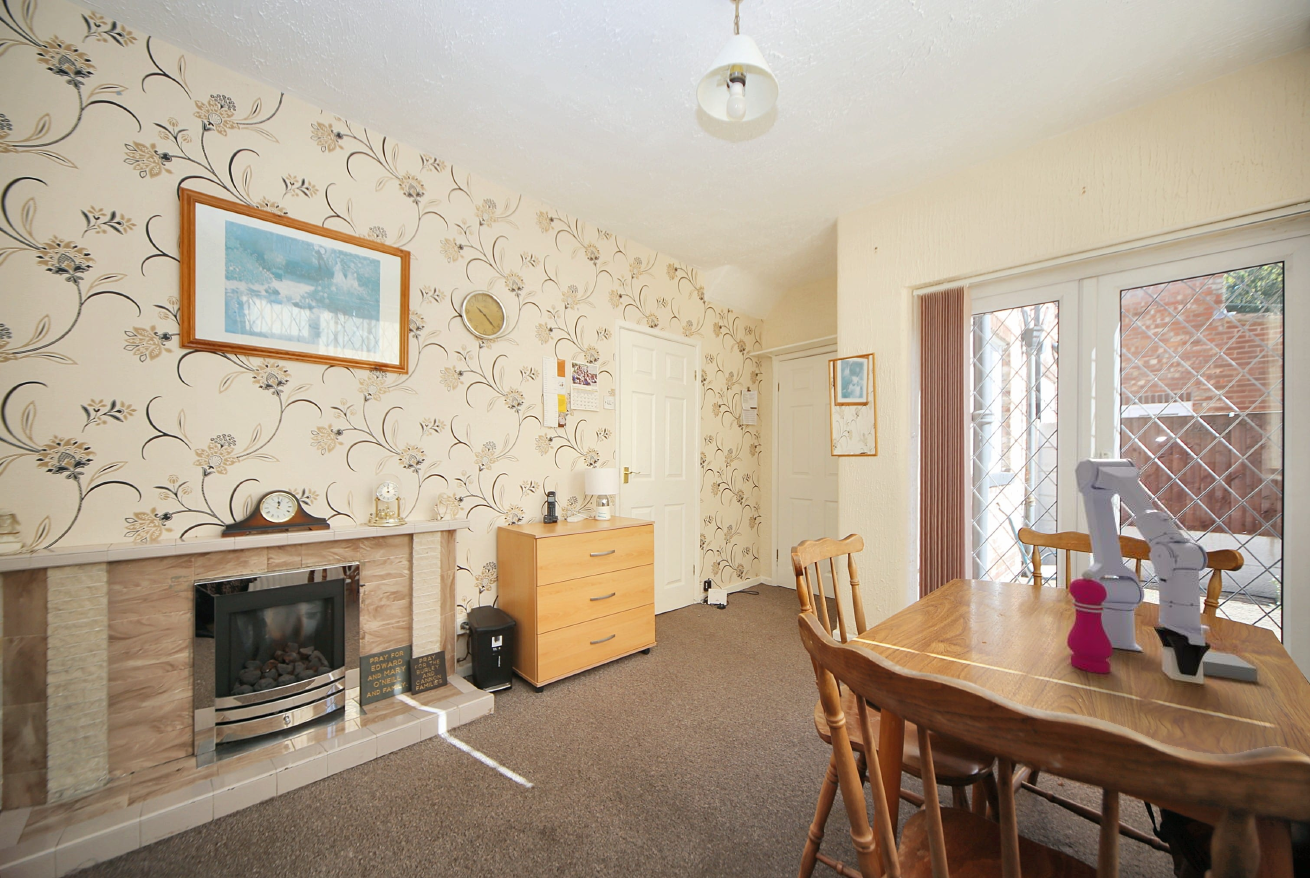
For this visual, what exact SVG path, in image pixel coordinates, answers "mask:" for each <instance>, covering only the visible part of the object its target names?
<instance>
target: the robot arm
mask: <svg viewBox="0 0 1310 878" xmlns="http://www.w3.org/2000/svg"><path fill="white" fill-rule="evenodd" d="M1074 473H1075V479H1076V484H1077V490H1078V492H1079V494H1081V495H1082V496H1081V497H1082V501H1083V508H1084V513H1085V518H1086V524H1087V529H1088V535H1089V541H1090V546H1091V552H1092V557H1093V564H1091V565H1090V566H1089V567H1087V568H1086V569H1084V570H1083V571H1082V573H1083V572H1090V573H1091V574H1092V575H1093V578H1092V579H1091V580H1095V581H1097V582H1099V583H1100V584H1102V585H1103V586H1104V587H1105V589H1106V593H1107V597H1106V599H1105V600H1104V601H1103V602H1102V603H1101V604H1103V605H1104V607H1103V609H1104V612H1102V614H1101V620H1102V625H1103V628H1104V631H1105V633H1106V635H1107V636H1108V638H1109V640H1110V642H1111V645H1112V649H1113V648H1115V649H1121V650H1129V651H1134V652H1135V651H1137V652H1143V651H1144V650H1143V648H1142V647H1140V646H1139V645H1138V644H1137V643H1136V633H1135V632H1136V631H1135V629H1136V627H1135V610H1138V607H1139V606H1140V605H1141V604H1142V603H1144V599H1145V590H1144V588H1143V585H1141V583H1140V579H1139V577H1138V573H1137V572H1136V571H1134V570H1133V569H1131V568H1129V567H1128V566H1126V565H1125V564H1124V559H1123V554H1122V550H1121V549H1122V548H1121V543H1120V539H1119V535H1118V534H1119V533H1118V529H1117V522H1116V518H1115V513H1114V508H1113V502H1112V499H1113V498H1114V496H1115V495H1118V496H1119V497H1120V499H1121V500H1122V501H1123V502H1124V503H1125V505H1126V506H1127V507H1128V508H1129V510H1131V512H1132V513H1133V514H1134V516H1135V518H1134V520H1133V524H1134V526H1135V527H1136V529H1137V530H1138V532H1139V533H1140V535H1141V536H1142V537H1143V539H1144V540H1145V542H1146V543H1147V545H1148V546H1149V548H1150V552H1148V556H1149V557H1148V558H1149V560H1150V562H1151V564H1152V565H1153V568H1154V574H1155V577H1157V578H1158V579H1157V580H1158V598H1159V599H1158V600H1159V602H1158V604H1159V612H1158V625H1159V626H1153V630H1154V631H1155V633H1156V634H1157V636H1158V637H1159V641H1160V643H1161V644H1162V646H1163V647H1171V648H1173V649H1174V652H1175V655H1176V660H1177V665H1178V669H1179V671H1180V673H1181V674H1184V675H1190V676H1196V675H1197V672H1198V669H1199V665H1200V662H1201V660H1202V658H1203V656H1204V654H1205V653H1206V652H1207V651H1210V649H1211V644H1210V643H1208V642H1207V641H1206V635H1204V633H1203V632H1211V630H1210V629H1211V628H1210V627H1208V625H1204V624H1202V618H1201V617H1202V616H1201V615H1202V614H1201V613H1202V612H1201V594H1200V593H1201V591H1200V572H1201V571H1204V570H1205V569H1206V568H1207V566H1208V563H1209V562H1208V560H1209V559H1208V555H1207V552H1206V551H1205V550H1204V547H1203V546H1202V545H1201V544H1200V543H1198V542H1195V541H1193V540H1191V538H1187V537H1185V536H1184V535H1183V533H1182V532H1181V531H1180V530H1179V528H1178V526H1177V525H1176V524H1175V523H1174V522H1173V521H1172V519H1171V518H1170V516H1169V515H1168V514H1167V513H1166V512H1163V511H1160V510H1157V509H1156V508H1155V506H1154V505H1153V503H1152V501H1151V500H1150V498H1149V497H1148V495H1147V493H1146V492H1145V490H1144V488H1143V487H1142V485H1141V484H1140V473H1141V471H1140V469H1139V468H1138V467H1137V465H1136V463H1135V462H1134V461H1133V460H1132V459H1130V458H1128V457H1127V458H1125V457H1124V458H1083V459H1081V460H1080V461H1079V462H1078V464H1077V466H1076V468H1075V469H1074ZM1103 576H1112V577H1103ZM1113 576H1114V577H1113Z"/></svg>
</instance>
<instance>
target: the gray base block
mask: <svg viewBox="0 0 1310 878" xmlns="http://www.w3.org/2000/svg"><path fill="white" fill-rule="evenodd" d="M1203 675H1207V676H1214V677H1219V678H1227V679H1234V680H1240V681H1245V682H1246V681H1247V682H1252V681H1253V683H1258V670H1257V668H1256V667H1255V666H1253V665H1252V664H1250V663H1248V662H1247V661H1245V660H1243V658H1241V657H1239V656H1237V655H1236V654H1234V653H1233V654H1232V653H1226V652H1225V653H1224V652H1219V651H1218V652H1216V651H1210V650H1208V651H1207V652H1206V653H1205V654H1204V656H1203Z"/></svg>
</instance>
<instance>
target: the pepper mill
mask: <svg viewBox="0 0 1310 878" xmlns="http://www.w3.org/2000/svg"><path fill="white" fill-rule="evenodd" d="M1092 578H1093V575H1092V574H1091V573H1090V572H1083V571H1082V573H1081V578H1077V579H1074V580H1073V581H1071V583H1070V584H1069V589H1068V590H1069V594H1070V595H1071V596H1072V598H1073V600H1072V603H1073V605H1072V607H1073V608H1074V610H1075V620H1074V623H1073V625H1072V627H1071V629H1070V631H1069V632H1068V635H1067V642H1066V643H1067V646H1068V649H1069V650H1070V651H1071V652H1072V653H1071V654H1070V664H1071V665H1072V666H1073V667H1075V668H1077V669H1079V670H1083V671H1086V672H1090V673H1095V674H1108V673H1110V672H1111V663H1110V661H1108V660H1107V659H1109V658H1110V657H1111V656H1113V653H1114V651H1113V647H1112V645H1111V642H1110V640H1109V638H1108V636H1107V635H1106V633H1105V631H1104V628H1103V625H1102V620H1101V614H1102V612H1104V609H1103V607H1104V605H1103V604H1101V603H1102V602H1103V601H1104V600H1105V599H1106V597H1107V593H1106V589H1105V587H1104V586H1103V585H1102V584H1100V583H1099V582H1097V581H1095V580H1091V579H1092Z"/></svg>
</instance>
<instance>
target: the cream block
mask: <svg viewBox="0 0 1310 878" xmlns="http://www.w3.org/2000/svg"><path fill="white" fill-rule="evenodd" d="M1161 670H1162V672H1163V673H1164V674H1165V675H1166V676H1167V677H1169V678H1170V679H1171V680H1176V681H1182V682H1190V683H1193V684H1194V683H1196V684H1201V685H1204V674H1203V658H1202V660H1201V662H1200V665H1199V669H1198V672H1197V675H1196V676H1190V675H1184V674H1181V673H1180V671H1179V669H1178V665H1177V660H1176V655H1175V652H1174V649H1173V648H1171V647H1163V645H1162V646H1161Z"/></svg>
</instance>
